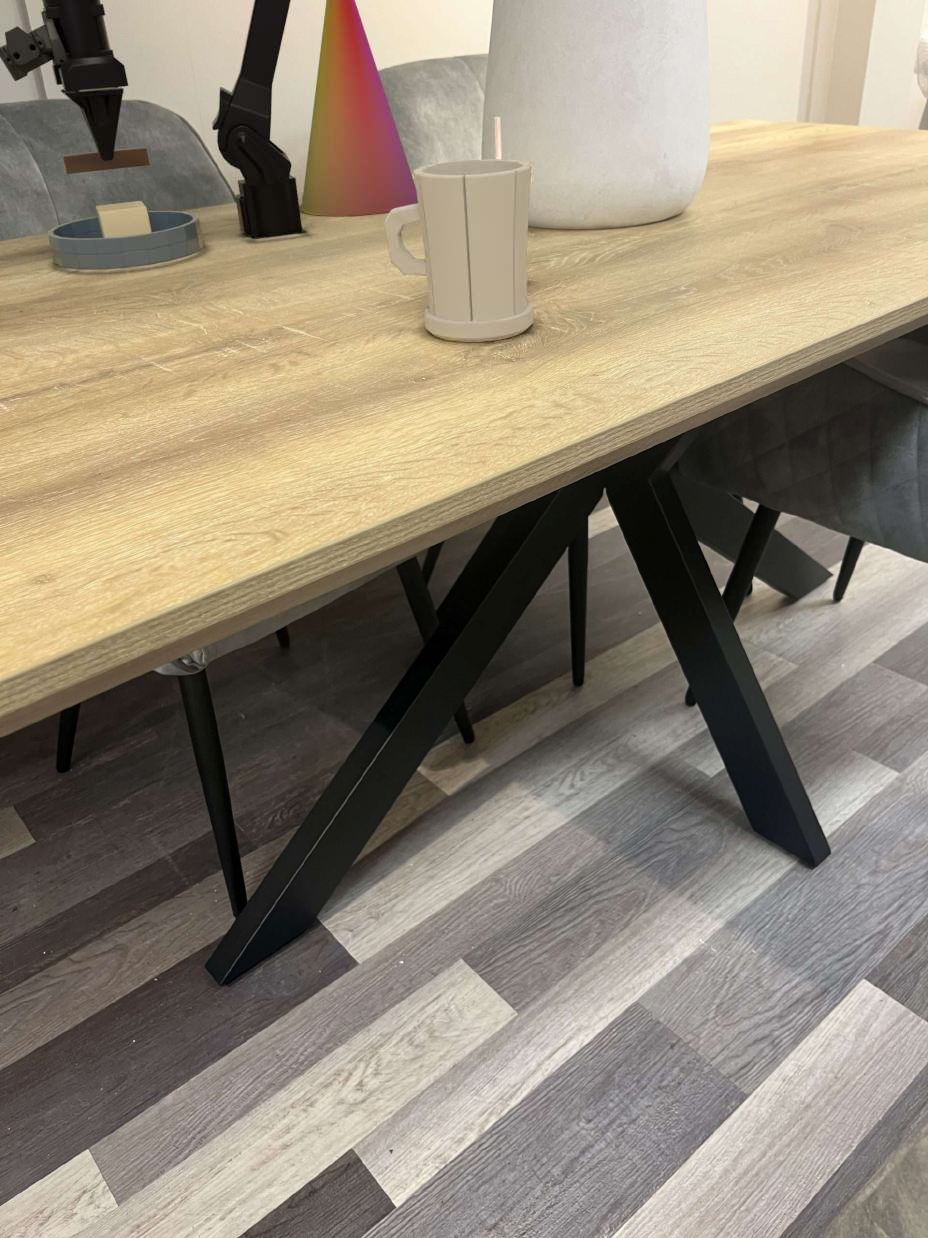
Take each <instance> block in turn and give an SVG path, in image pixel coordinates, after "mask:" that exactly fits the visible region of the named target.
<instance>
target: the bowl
mask: <svg viewBox="0 0 928 1238" xmlns="http://www.w3.org/2000/svg"><path fill="white" fill-rule="evenodd" d="M147 212H148V217H149V222H150V227H151V233H146V234H139V235H131V236H122V237H110V238H103V237H102V232H101V228H100V224H99V219H98V215H97V216H91V217H86V218H82V219H76V220H72V221H69V222H65V223H62V224H59V225H56V226H54V227H52V228H50V229H49V230H48V231H47V236H48V239H49V244H50V248H51V252H52V255H53V259H54V260H53V261H54V263H55V264H56V265H57V266H59V267H62V268H65V269H73V270H87V271H89V270H91V271H92V270H93V271H94V270H95V271H96V270H116V269H117V270H118V269H128V268H137V267H143V266H151V265H156V264H160V263H162V264H163V263H167V262H171V261H174V260H179V259H182V258H185V257H188V256H191V255H194V254H196V253H197V252H199V251H201V250H202V249H203V247H204V244H205V243H204V239H203V233H202V229H201V228H202V227H201V221H200V218H199V217H198V215H197V214H196V213H193V212H187V211H181V210H180V211H179V210H147Z"/></svg>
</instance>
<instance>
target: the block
mask: <svg viewBox="0 0 928 1238" xmlns="http://www.w3.org/2000/svg"><path fill="white" fill-rule="evenodd" d="M95 211H96V214H97V216H98V219H99V224H100V228H101V232H102V237H103V238H110V237H122V236H131V235H139V234H146V233H151V227H150V222H149V217H148V212H147V211H148V209H147V206H146V205H145V204H144V202H142V200H137V201H127V202H117V203H108V204H101V205H95Z"/></svg>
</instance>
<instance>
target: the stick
mask: <svg viewBox="0 0 928 1238" xmlns="http://www.w3.org/2000/svg"><path fill="white" fill-rule="evenodd" d="M61 157H62V162H63V166H64V169H65V173H66V174H67V175H71V174H80V173H89V172H99V171H108V170H117V169H126V168H127V169H128V168H137V167H145V166H150V159H149V154H148V150H147V147H145V146H135V147H127V148H116V149H115V148H114V155H113V159H112V160H103V159H102V157H101V155H100V152H99V151H98V150H95V151H85V152H76V153H67V154H66V153H65V154H62V155H61Z"/></svg>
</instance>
